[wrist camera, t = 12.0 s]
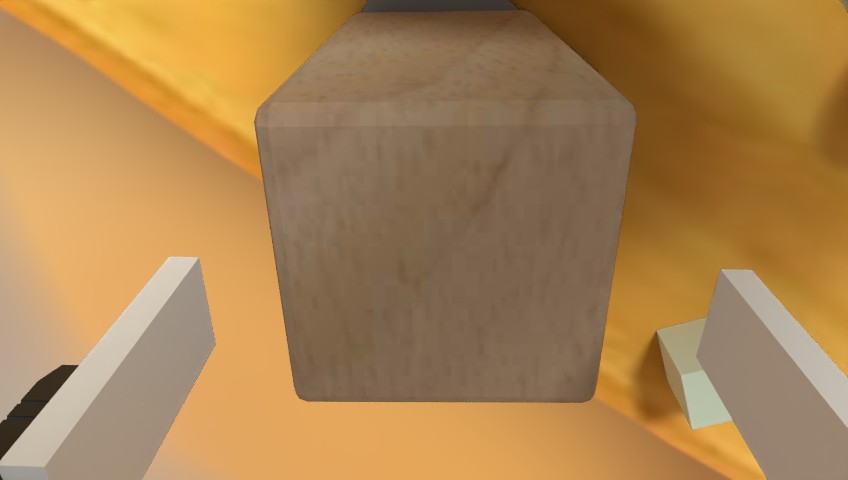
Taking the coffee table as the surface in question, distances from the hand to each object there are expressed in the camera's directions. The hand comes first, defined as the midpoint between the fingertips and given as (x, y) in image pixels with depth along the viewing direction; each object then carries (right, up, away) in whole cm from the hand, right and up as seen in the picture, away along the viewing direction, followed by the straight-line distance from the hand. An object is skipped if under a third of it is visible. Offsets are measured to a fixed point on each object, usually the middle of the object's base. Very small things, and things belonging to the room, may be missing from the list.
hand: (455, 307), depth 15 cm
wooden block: (0, +10, +20) cm, 22 cm away
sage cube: (+19, -6, +28) cm, 35 cm away
